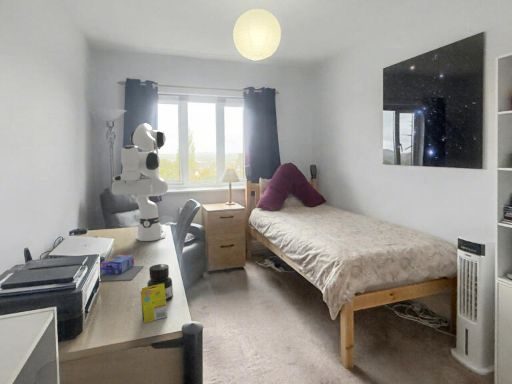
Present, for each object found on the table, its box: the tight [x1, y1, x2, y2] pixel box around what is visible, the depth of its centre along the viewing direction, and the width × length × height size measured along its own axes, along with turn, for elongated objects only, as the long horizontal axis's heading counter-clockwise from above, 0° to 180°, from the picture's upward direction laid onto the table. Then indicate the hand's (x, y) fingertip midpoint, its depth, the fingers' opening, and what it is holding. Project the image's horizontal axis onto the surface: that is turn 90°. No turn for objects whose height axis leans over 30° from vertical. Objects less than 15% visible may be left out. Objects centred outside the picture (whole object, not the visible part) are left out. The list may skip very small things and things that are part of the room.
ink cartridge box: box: [99, 254, 135, 275], centre depth 146 cm, size 10×6×14 cm
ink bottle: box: [146, 263, 174, 302], centre depth 116 cm, size 10×9×12 cm
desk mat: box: [100, 265, 144, 283], centre depth 143 cm, size 17×14×1 cm
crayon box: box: [140, 283, 168, 324], centre depth 102 cm, size 7×3×12 cm, turn 119°
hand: (133, 203), depth 164 cm, fingers closed
